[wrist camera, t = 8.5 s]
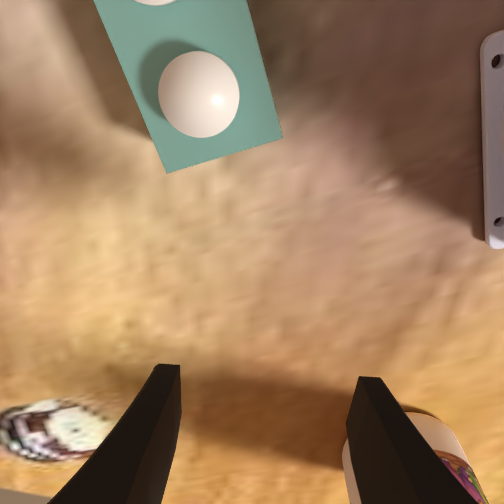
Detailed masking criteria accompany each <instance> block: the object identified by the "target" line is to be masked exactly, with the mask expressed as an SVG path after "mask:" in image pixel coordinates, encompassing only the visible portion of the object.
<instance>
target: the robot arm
mask: <svg viewBox="0 0 504 504" xmlns="http://www.w3.org/2000/svg"><path fill="white" fill-rule="evenodd" d="M498 54H499V55H500V58H501V59H500V63H499V64H498V65H497V66H496V67H494V68H493V67H492V65H491V62H492V59H493V58H494V57H495V56H496V55H498ZM480 69H481V106H482V144H483V181H484V218H485V241H486V243H487V244H488V245H489V246H490V247H491V248H493V249H501V248H504V30H501V31H498V32H494V33H492V34H490V35H488V36H487V37H486V38H485V39H484V41H483V43H482V45H481V48H480ZM499 217H501V220H500V221H499V222H498V223H495V224H494V221H495V220H496V219H497V218H499ZM181 413H182V412H181V381H180V365H172V364H158V365H156V366H155V367H154V369H153V371H152V373H151V374H150V376H149V378H148V379H147V381H146V382H145V384H144V386H143V387H142V389H141V390H140V392H139V393H138V395H137V396H136V398H135V399H134V401H133V402H132V403H131V405H130V406H129V408H128V409H127V410H126V412H125V413H124V414H123V416H122V417H121V419H120V420H119V421H118V423H117V424H116V425H115V427H114V428H113V429H112V431H111V432H110V433H109V434H108V436H107V437H106V438H105V439H104V441H103V442H102V443H101V444H100V445H99V447H98V448H97V449H96V450H95V452H94V453H93V454H92V455H91V457H90V458H89V459H88V460H87V461H86V462H85V464H84V465H83V466H82V467H81V468H80V469H79V470H78V472H77V473H76V474H75V475H74V476H73V477H72V478H71V479H70V480H69V481H68V482H67V484H66V485H65V486H64V487H63V488H62V489H61V490H60V491H59V492H58V493H57V494H56V495H55V496H54V497H53V498H52V499H51V500H50V501H49V502H48V503H47V504H161V502H162V498H163V495H164V491H165V487H166V483H167V480H168V476H169V472H170V469H171V465H172V461H173V457H174V453H175V450H176V444H177V438H178V432H179V426H180V420H181ZM346 428H347V436H348V444H349V451H350V458H351V463H352V467H353V471H354V476H355V480H356V484H357V488H358V492H359V496H360V500H361V504H479V503H478V502H477V501H476V500H475V499H474V498H473V497H472V496H471V494H470V493H469V492H468V491H467V490H466V489H465V488H464V487H463V485H462V484H461V483H460V482H459V481H458V480H457V478H456V477H455V476H454V475H453V474H452V472H451V471H450V470H449V469H448V468H447V466H446V465H445V464H444V463H443V462H442V460H441V459H440V458H439V457H438V455H437V454H436V453H435V452H434V450H433V449H432V448H431V446H430V445H429V444H428V443H427V441H426V440H425V439H424V437H423V436H422V435H421V433H420V432H419V431H418V430H417V428H416V427H415V425H414V424H413V423H412V421H411V420H410V419H409V417H408V416H407V415H406V413H405V412H404V410H403V409H402V408H401V406H400V405H399V403H398V402H397V401H396V399H395V398H394V396H393V395H392V393H391V392H390V390H389V389H388V388H387V386H386V385H385V383H384V382H383V380H382V379H381V378H379V377H363V376H359V378H358V381H357V385H356V389H355V392H354V396H353V400H352V403H351V407H350V410H349V414H348V418H347V421H346Z"/></svg>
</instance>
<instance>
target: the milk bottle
mask: <svg viewBox="0 0 504 504" xmlns="http://www.w3.org/2000/svg"><path fill="white" fill-rule="evenodd" d="M405 413H406V415H407V416H408V417H409V419H410V420H411V421H412V423H413V424H414V425H415V427H416V428H417V430H418V431H419V432H420V433H421V435H422V436H423V437H424V439H425V440H426V441H427V443H428V444H429V445H430V446H431V448H432V449H433V450H434V452H435V453H436V454H437V455H438V457H439V458H440V459H441V460H442V462H443V463H444V464H445V465H446V466H447V468H448V469H449V470H450V471H451V472H452V474H453V475H454V476H455V477H456V478H457V480H458V481H459V482H460V483H461V484H462V485H463V487H464V488H465V489H466V490H467V491H468V492H469V493H470V494H471V496H472V497H473V498H474V499H475V500H476V501H477V502H478V503H479V504H489V503H488V501H487V499H486V497H485V495H484V493H483V491H482V489H481V486H480V484H479V482H478V480H477V478H476V476H475V474H474V472H473V470H472V468H471V466H470V464H469V462H468V459H467V457H466V455H465V453H464V451H463V449H462V447H461V445H460V443H459V442H458V440H457V438H456V436H455V434H454V433H453V431H452V430H451V429H450V428H449V427H447V426H446V425H445V424H444V423H443V422H441V421H440V420H438V419H436V418H434V417H432V416H429V415H426V414H423V413H415V412H405ZM342 462H343V468H344V475H345V480H346V486H347V491H348V497H349V502H350V504H361V500H360V496H359V492H358V488H357V484H356V480H355V476H354V471H353V467H352V463H351V458H350V451H349V444H348V437H347V439H346V442H345V444H344V447H343V452H342Z"/></svg>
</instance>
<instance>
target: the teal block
mask: <svg viewBox="0 0 504 504" xmlns="http://www.w3.org/2000/svg"><path fill="white" fill-rule="evenodd" d="M93 1H94V3H95V5H96V8H97V10H98V13H99V15H100V17H101V20H102V22H103V24H104V27H105V29H106V31H107V34H108V36H109V39H110V41H111V43H112V46H113V48H114V50H115V53H116V55H117V57H118V60H119V62H120V65H121V67H122V69H123V72H124V74H125V76H126V79H127V81H128V83H129V86H130V88H131V91H132V93H133V95H134V98H135V100H136V102H137V105H138V107H139V109H140V112H141V114H142V116H143V119H144V121H145V124H146V126H147V128H148V131H149V133H150V135H151V138H152V140H153V142H154V145H155V147H156V150H157V152H158V154H159V157H160V159H161V161H162V164H163V166H164V168H165V171H166V173H170V172H173V171H177V170H180V169H183V168H187V167H190V166H193V165H196V164H200V163H203V162H206V161H210V160H213V159H216V158H220V157H223V156H226V155H229V154H233V153H236V152H239V151H243V150H246V149H249V148H252V147H256V146H259V145H262V144H266V143H269V142H272V141H276V140H279V139H282V138H283V136H282V132H281V127H280V123H279V118H278V115H277V111H276V107H275V103H274V100H273V96H272V92H271V88H270V85H269V81H268V77H267V73H266V69H265V66H264V62H263V58H262V54H261V51H260V47H259V43H258V39H257V35H256V32H255V28H254V24H253V20H252V17H251V13H250V9H249V5H248V2H247V0H93Z"/></svg>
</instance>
